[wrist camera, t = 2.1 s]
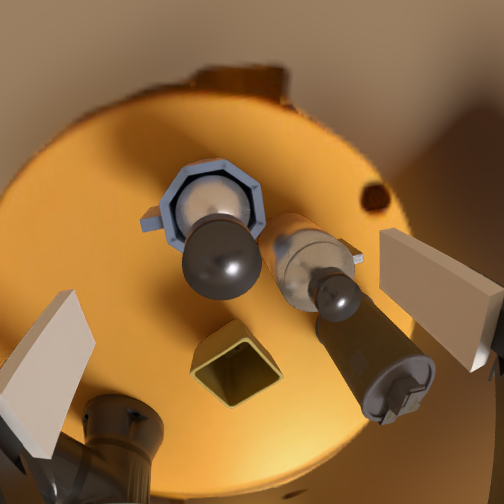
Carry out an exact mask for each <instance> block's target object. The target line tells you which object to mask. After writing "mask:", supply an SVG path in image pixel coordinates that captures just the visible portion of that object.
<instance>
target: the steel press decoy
mask: <svg viewBox="0 0 504 504" xmlns="http://www.w3.org/2000/svg"><path fill="white" fill-rule="evenodd" d="M265 225H266V226H265V227H264V228H263V230H262V231H261V233H260V236H259V242H258V245H259V250H260V252H261V256H262V258H263V260H264V261H265V263H266V265H267V267H268V269H269V270H270V272H271V274H272V276H273V278H274V280H275V281H276V283H277V285H278V287H279V289H280V291H281V292H282V294H283V296H284V298H285V299H286V300H287V302H288V303H289V304H290V305H292V306H293V307H295V308H297V309H299V310H302V311H306V312H317V311H319V313H320V314H321V315H322V317H323V318H324V319H326V320H328V321H331V322H340V321H343V320H346V319H347V318H349V317H350V316H352V315H353V314H354V313H355V312H356V310H357V309H358V307H359V305H360V303H361V297H362V294H361V290H360V288H359V286H358V285H357V284H356V283H355V282H354V281H353V279H354V274H355V264H357V263H361V262H363V253H361V252H360V251H359V250H357V249H356V248H354V247H353V246H352V245H350V244H349V243H347V242H346V241H344V240H343V239H342V238H341V239H336V238H334V237H333V236H331V235H330V234H329V233H327V232H326V231H324V230H323V229H322V228H320V227H319V226H317V225H316V224H315V223H313V222H312V221H310V220H309V219H307V218H306V217H304V216H303V215H301V214H298V213H293V212H286V213H281V214H278V215H276V216H274V217H273V218H271V219H270V220H269V221H268V222H267V223H266V224H265Z"/></svg>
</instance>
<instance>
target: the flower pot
mask: <svg viewBox="0 0 504 504" xmlns="http://www.w3.org/2000/svg"><path fill="white" fill-rule="evenodd" d="M236 346H239V348H235V347H236ZM190 375H191V376H192V377H193V378H194V379H195V380H196V381H197V382H199V383H200V384H201V385H202V386H203V387H204V388H205V389H207V390H208V391H209V392H210V393H211V394H212V395H214V396H215V397H216V398H217V399H218V400H219V401H220V402H222V403H223V404H224V405H225V406H226V407H228V408H230V409H233V408H235V407H237V406H239V405H241V404H242V403H244V402H245V401H247V400H249V399H250V398H252V397H254V396H255V395H257V394H259V393H260V392H262V391H264V390H266V389H268V388H269V387H271V386H273V385H274V384H276V383H278V382H279V381H281V380H282V379H283V378H284V376H283V374H282V373H281V371H280V369H279V368H278V366H277V364H276V363H275V361H274V359H273V358H272V356H271V355H270V353H269V352H268V351H267V350H266V349H265V348H264V347H263V346H262V345H261V343H260V342H259V341H258V340H257V339H256V338H255V337H254V336H253V334H252V333H251V332H250V331H249V330H248V329H247V327H246V326H245V325H244V324H243V323H242V321H240V320H239V319H234V320H232V321H230V322H229V323H227V324H226V325H224V326H223V327H222V328H220V329H219V330H217V331H215V332H214V333H212V334H211V335H209V336H208V337H207V338H205V339H204V340H203V341H202V342H201V343H200V344H199V345H198V346H197V348H196V350H195V352H194V355H193V360H192V365H191V369H190Z"/></svg>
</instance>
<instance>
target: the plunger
mask: <svg viewBox="0 0 504 504" xmlns="http://www.w3.org/2000/svg"><path fill="white" fill-rule="evenodd" d="M249 217H250V206H249V201H248V199H247V196H246V194H245V193H244V191H243V190H242V189H241V188H240V186H239V185H238V184H236V183H235V182H234V181H232V180H231V179H229V178H226V177H223V176H219V175H207V176H203V177H200V178H197V179H195V180H194V181H192V182H191V183H189V184H188V185H187V186H186V187H185V189H184V190H183V191H182V193H181V195H180V197H179V199H178V202H177V205H176V220H177V224H178V226H179V229H180V230H181V232H182V234H183V235H184V236H185V237H186V239H185V245H184V251H183V258H182V269H183V273H184V277H185V279H186V281H187V282H188V284H189V285H190V286H191V288H192V289H193V290H195V291H196V292H197V293H198V294H200V295H202V296H204V297H206V298H209V299H213V300H229V299H233V298H236V297H239V296H241V295H242V294H244V293H245V292H247V291H248V290H249V289H250V288H251V287H252V286H253V285H254V284H255V282H256V281H257V279H258V277H259V274H260V271H261V267H262V258H261V252H260V250H259V247H258V245H257V243H256V242H255V240H254V238H253V236H252V235H251V233H250V231H249V229H248V228H247V225H248V222H249Z"/></svg>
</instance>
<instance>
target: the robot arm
mask: <svg viewBox="0 0 504 504" xmlns="http://www.w3.org/2000/svg"><path fill="white" fill-rule="evenodd" d="M379 233H380V285H379V288H380V289H381V290H382V291H383V292H384V293H386V294H387V295H388V296H389V297H390V298H391V299H392V300H394V301H395V302H396V303H397V304H398V305H399V306H400V307H401V308H402V309H404V310H405V311H406V312H407V313H408V314H409V315H410V316H411V317H412V318H413V319H415V320H416V321H417V322H418V323H419V324H420V325H421V326H422V327H423V328H425V330H427V331H428V332H429V333H430V334H431V335H432V336H433V337H434V338H435V339H436V340H437V341H438V342H439V343H440V344H441V345H443V346H444V347H445V348H446V349H447V350H448V351H449V352H450V353H451V354H452V355H453V356H454V357H455V358H456V359H457V360H458V361H459V362H460V363H461V364H462V365H463V366H464V367H465V368H466V369H467V370H468V371H469V372H472V371H474V370H476V369H477V368H479V367H481V366H483V365H485V364H486V362H487V359H488V356H489V352H490V349H492V350H493V351H494V352H496V353H497V355H496V358H495V361H494V364H493V367H492V370H491V373H490V375H489V379H488V381H491V379H492V377H493V375H494V374H495V387H496V429H495V448H494V449H495V450H494V461H493V471H492V479H491V486H490V493H489V500H488V504H504V287H503V286H502V285H500V284H498V283H497V282H495V281H493V280H492V279H489V278H488V277H487V276H485V275H481V273H480V272H478V271H476V270H474V269H473V268H471V267H467V266H465V265H463V264H462V263H460V262H458V261H456V260H454V259H452V258H451V257H449V256H447V255H445V254H443V253H442V252H440V251H438V250H436V249H434V248H432V247H430V246H428V245H427V244H425V243H423V242H421V241H419V240H417V239H415V238H413V237H411V236H409V235H407V234H405V233H403V232H401V231H399V230H397V229H395V228H391V229H386V230H380V231H379ZM95 345H96V343H95V341H94V338H93V336H92V334H91V331H90V329H89V326H88V324H87V322H86V319H85V317H84V314H83V312H82V309H81V306H80V304H79V301H78V299H77V296H76V293H75V290H74V289H72V290H67V291H62V292H59V293H58V294H57V296H56V297H55V298H54V299H53V300H52V302H51V303H50V304H49V305H48V307H47V308H46V309H45V310H44V312H43V313H42V314H41V315H40V317H39V318H38V319H37V320H36V322H35V323H34V324H33V325H32V327H31V328H30V329H29V331H28V332H27V333H26V335H25V336H24V337H23V339H22V340H21V341H20V343H19V344H18V345H17V347H16V348H15V349H14V351H13V352H12V353H11V355H10V356H9V358H8V359H7V360H6V361H5V362H4V364H3V365H2V367H1V368H0V504H150V482H151V464H152V460H153V459H154V457H155V455H156V453H157V451H158V449H159V447H160V445H161V444H162V441H163V436H164V425H163V422H162V420H161V418H160V417H159V415H158V414H157V413H156V412H155V411H154V410H153V409H152V408H150V407H149V406H147V405H146V404H144V403H142V402H140V401H138V400H136V399H133V398H130V397H126V396H121V395H101V396H98V397H95V398H93V399H92V400H90V401H89V402H88V404H87V405H86V407H85V410H84V413H83V419H82V422H83V431H84V440H85V445H84V444H82V443H80V442H79V441H77V440H75V439H73V438H72V437H70V436H68V435H67V434H65V433H63V432H62V431H61V428H62V426H63V423H64V420H65V417H66V415H67V412H68V409H69V407H70V404H71V402H72V399H73V397H74V394H75V392H76V389H77V387H78V384H79V382H80V379H81V377H82V375H83V372H84V370H85V367H86V365H87V363H88V360H89V358H90V356H91V354H92V351H93V349H94V347H95Z"/></svg>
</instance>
